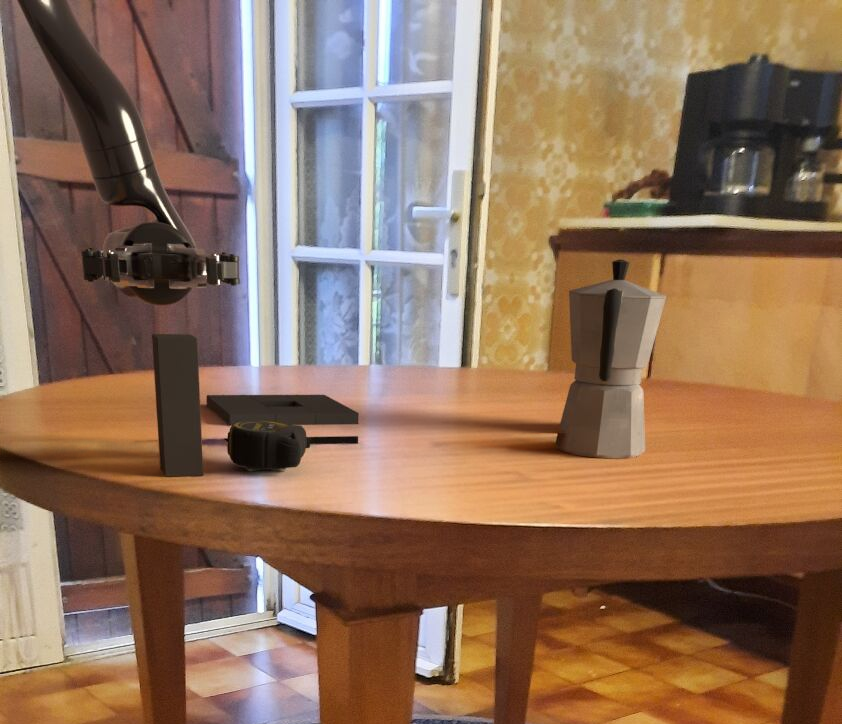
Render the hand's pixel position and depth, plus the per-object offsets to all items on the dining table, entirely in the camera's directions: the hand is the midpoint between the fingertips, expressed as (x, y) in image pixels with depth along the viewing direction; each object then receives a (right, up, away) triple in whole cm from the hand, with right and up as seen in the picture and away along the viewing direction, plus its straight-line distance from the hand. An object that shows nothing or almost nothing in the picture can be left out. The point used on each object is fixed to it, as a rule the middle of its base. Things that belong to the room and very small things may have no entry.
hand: (165, 270), depth 95 cm
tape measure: (+10, -18, 0) cm, 20 cm away
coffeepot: (+41, -12, +15) cm, 45 cm away
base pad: (+8, -10, +17) cm, 21 cm away
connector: (+2, -19, -3) cm, 19 cm away
